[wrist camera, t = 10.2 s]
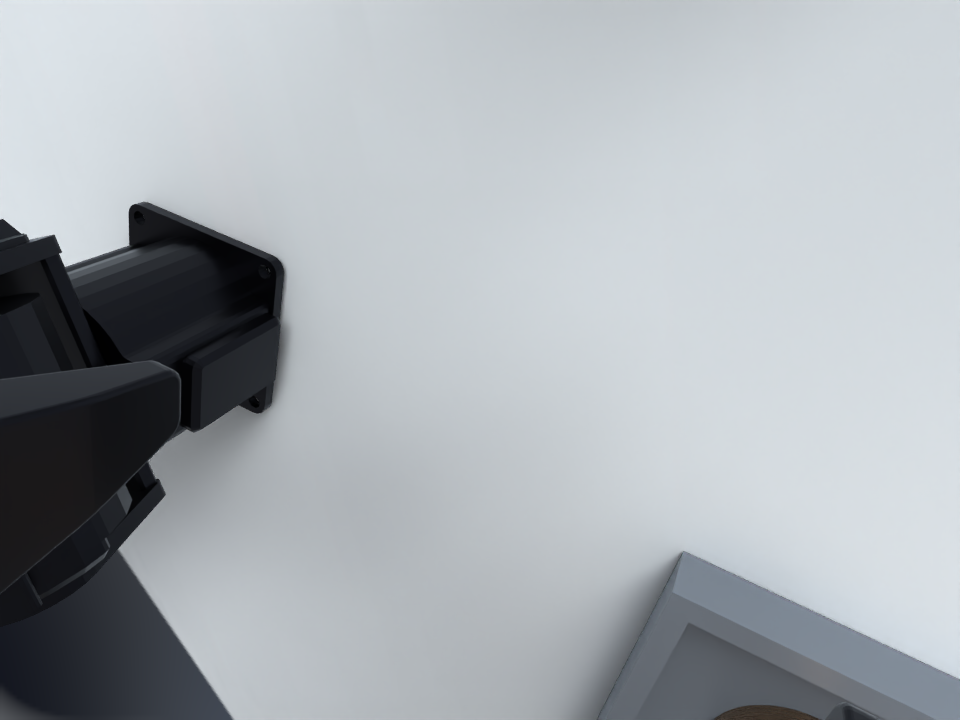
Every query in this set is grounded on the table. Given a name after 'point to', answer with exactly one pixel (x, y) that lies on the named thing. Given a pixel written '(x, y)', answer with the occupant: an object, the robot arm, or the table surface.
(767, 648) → the tray
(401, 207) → the table surface
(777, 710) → the can
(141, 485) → the robot arm
